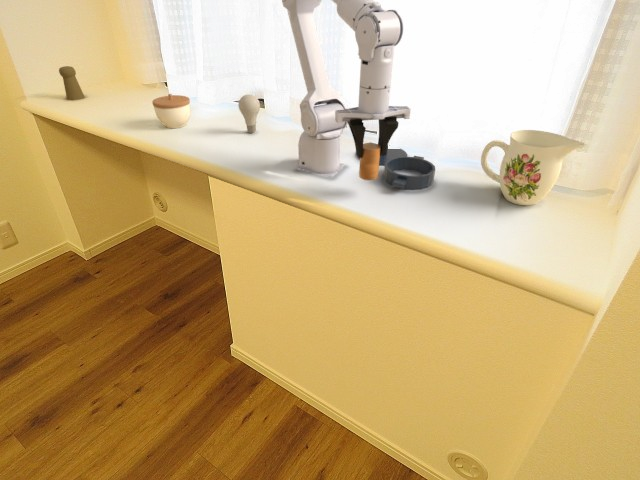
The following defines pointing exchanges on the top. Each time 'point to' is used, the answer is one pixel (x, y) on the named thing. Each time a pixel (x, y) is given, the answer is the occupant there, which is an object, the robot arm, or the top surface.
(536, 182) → the pitcher
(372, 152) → the peg
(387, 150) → the lid
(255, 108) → the lightbulb
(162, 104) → the trinket box
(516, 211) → the top surface
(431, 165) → the pot
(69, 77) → the grey-brown tapered knobbed cylinder
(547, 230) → the top surface
